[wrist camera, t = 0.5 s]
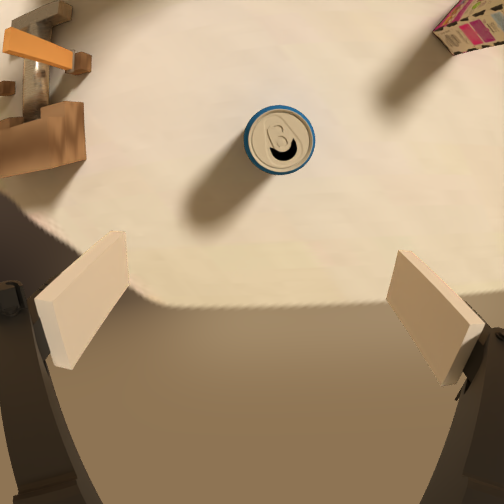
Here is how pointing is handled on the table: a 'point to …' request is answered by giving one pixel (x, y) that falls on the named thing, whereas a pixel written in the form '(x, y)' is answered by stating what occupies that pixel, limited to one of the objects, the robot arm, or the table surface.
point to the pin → (34, 71)
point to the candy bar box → (472, 26)
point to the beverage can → (279, 140)
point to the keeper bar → (37, 49)
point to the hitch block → (44, 133)
